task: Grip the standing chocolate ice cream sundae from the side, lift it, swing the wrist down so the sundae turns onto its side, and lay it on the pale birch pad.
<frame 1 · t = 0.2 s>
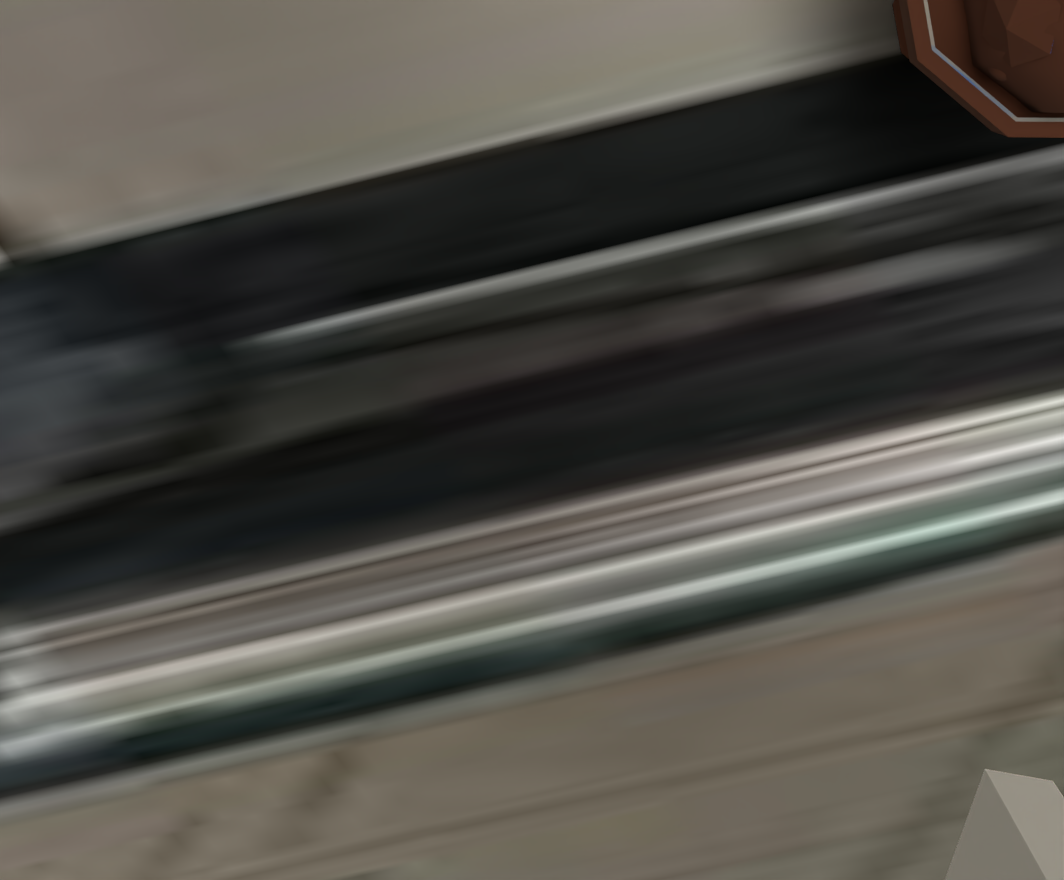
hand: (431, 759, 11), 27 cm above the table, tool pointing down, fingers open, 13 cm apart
chocolate ice cream sundae: (967, 5, 31), on the table
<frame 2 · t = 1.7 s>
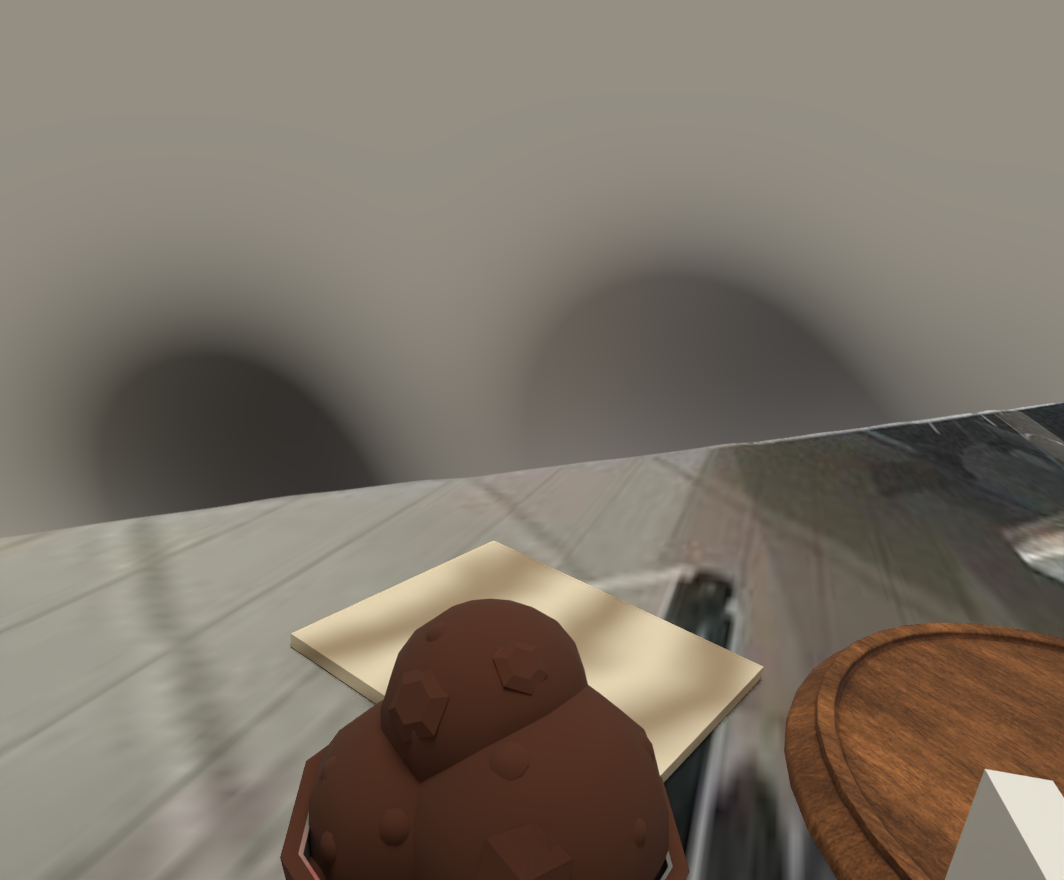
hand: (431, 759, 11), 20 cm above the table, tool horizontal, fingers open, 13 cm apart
birch pad: (531, 662, 46), on the table
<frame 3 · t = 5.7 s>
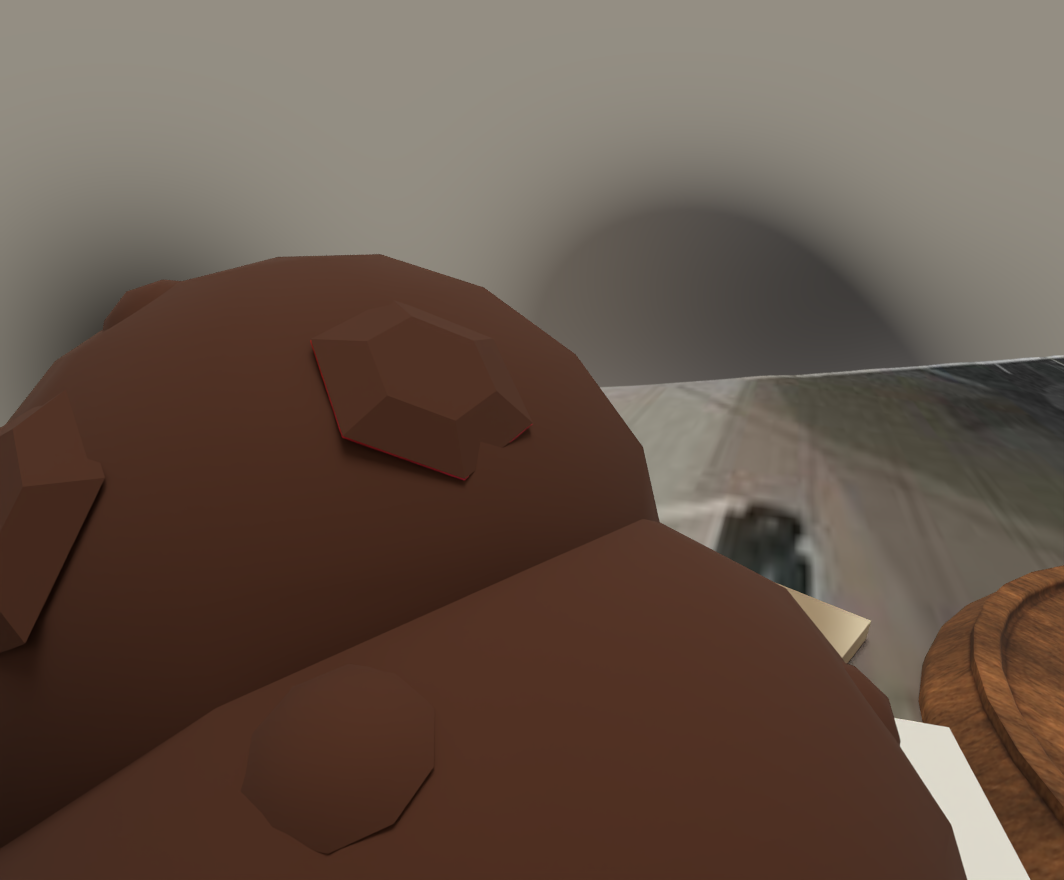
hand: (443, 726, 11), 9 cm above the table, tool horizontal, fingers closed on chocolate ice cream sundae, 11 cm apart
birch pad: (519, 614, 30), on the table
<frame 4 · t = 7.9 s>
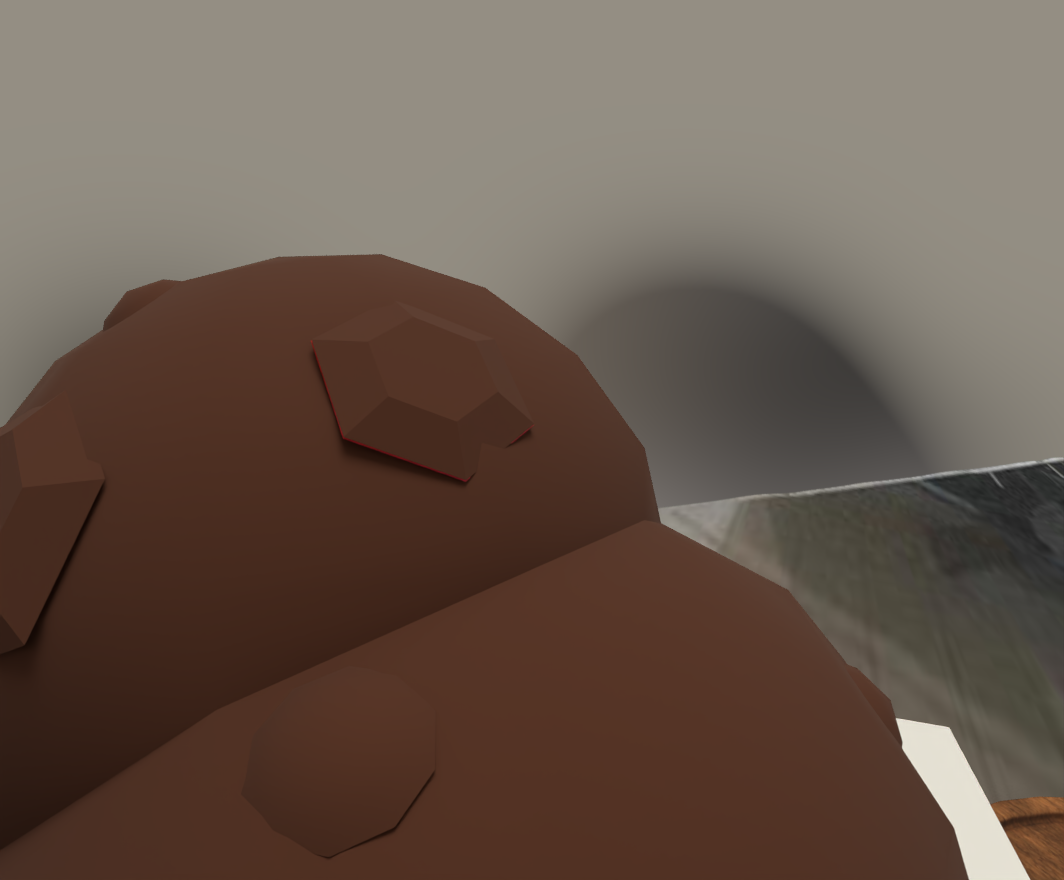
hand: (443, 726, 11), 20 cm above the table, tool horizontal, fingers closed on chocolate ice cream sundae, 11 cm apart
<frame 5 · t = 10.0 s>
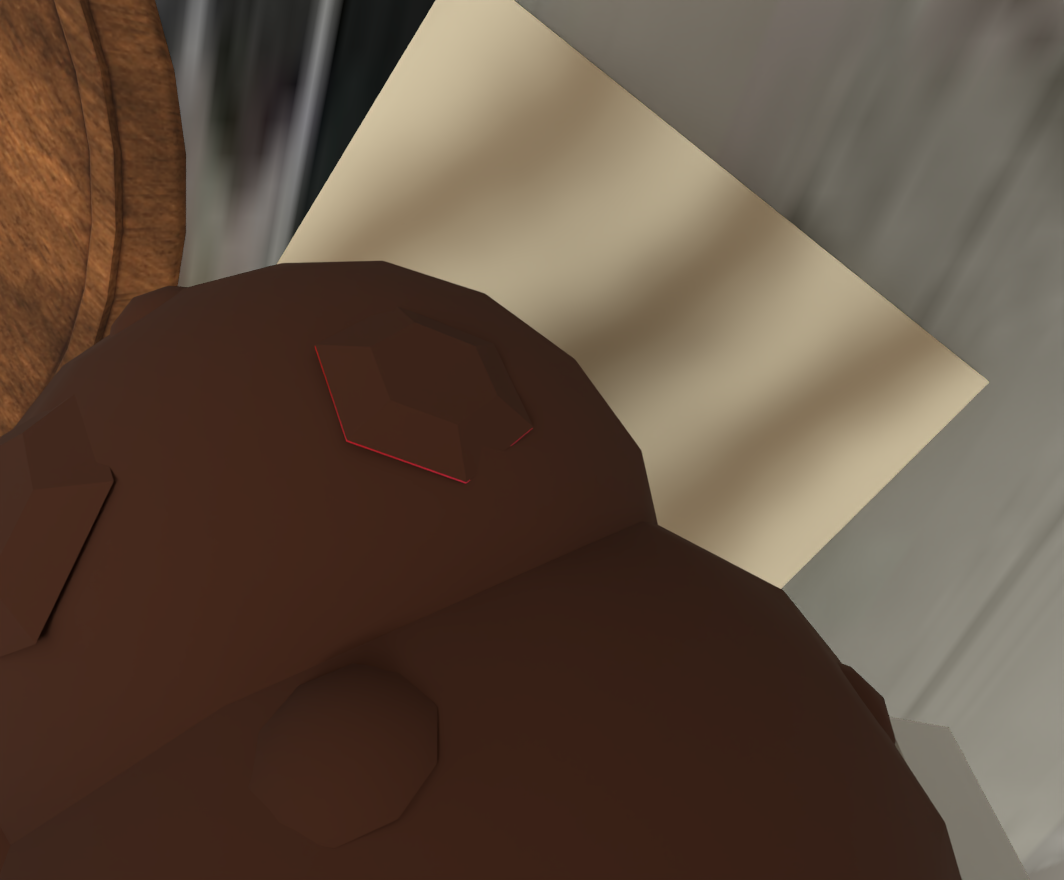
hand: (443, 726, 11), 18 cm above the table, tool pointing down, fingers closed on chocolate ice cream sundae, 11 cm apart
birch pad: (564, 390, 28), on the table
when the fingers open (4 cm above the table, at t = 13.2 s): chocolate ice cream sundae drops 3 cm, resting on birch pad.
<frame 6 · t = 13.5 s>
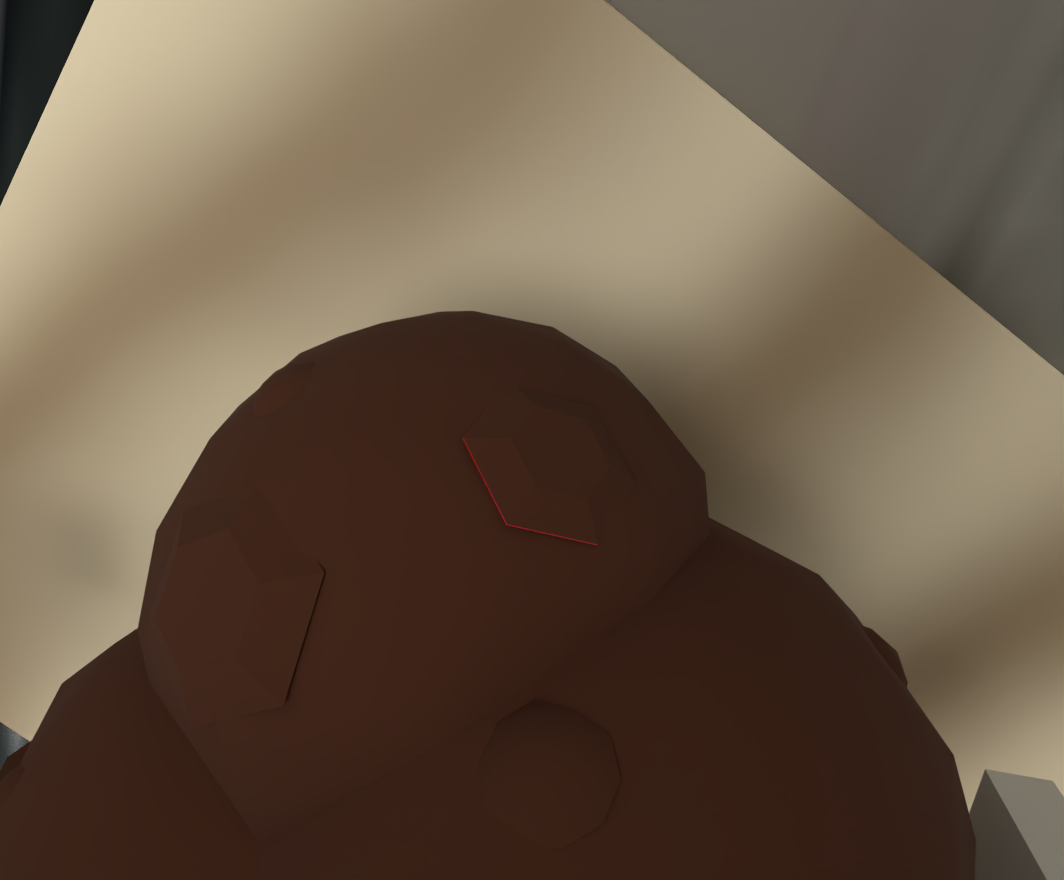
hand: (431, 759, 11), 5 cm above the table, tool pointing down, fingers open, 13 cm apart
birch pad: (492, 583, 15), on the table
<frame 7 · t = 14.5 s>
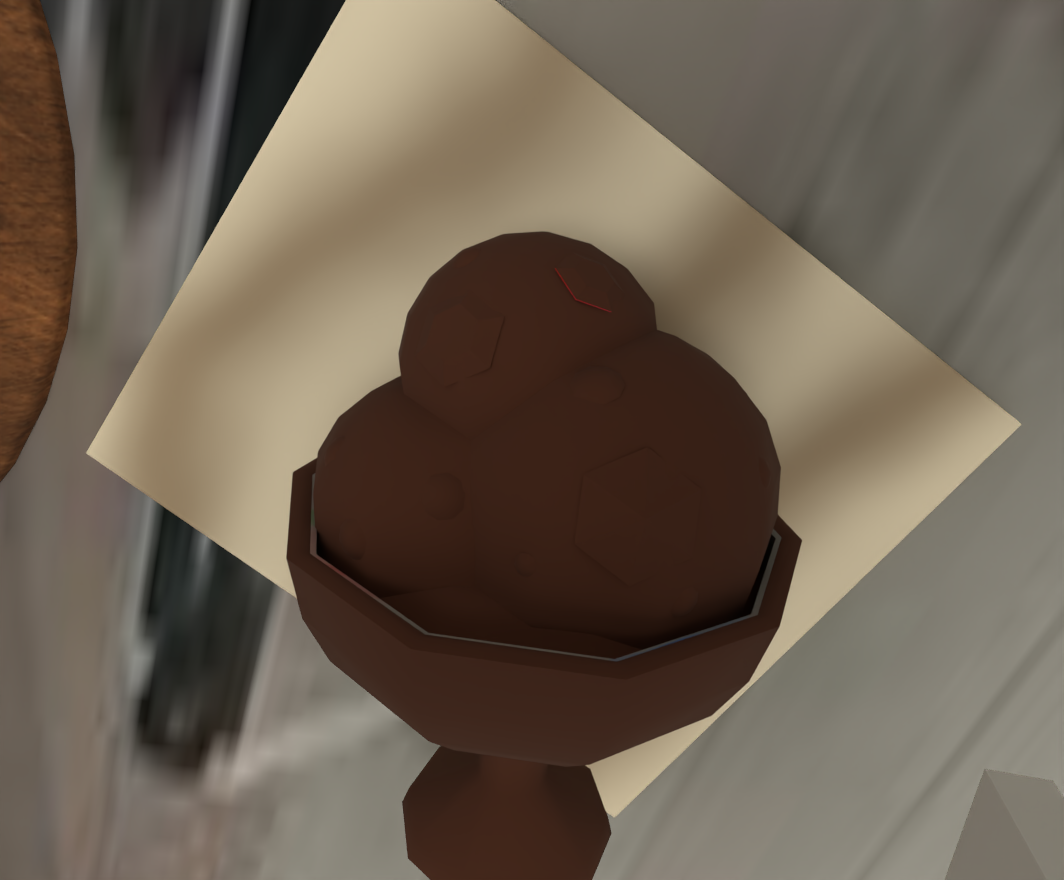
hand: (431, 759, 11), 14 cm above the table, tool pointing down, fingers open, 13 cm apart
chocolate ice cream sundae: (505, 822, 22), point 5 cm above the table, touching birch pad
birch pad: (524, 431, 24), on the table
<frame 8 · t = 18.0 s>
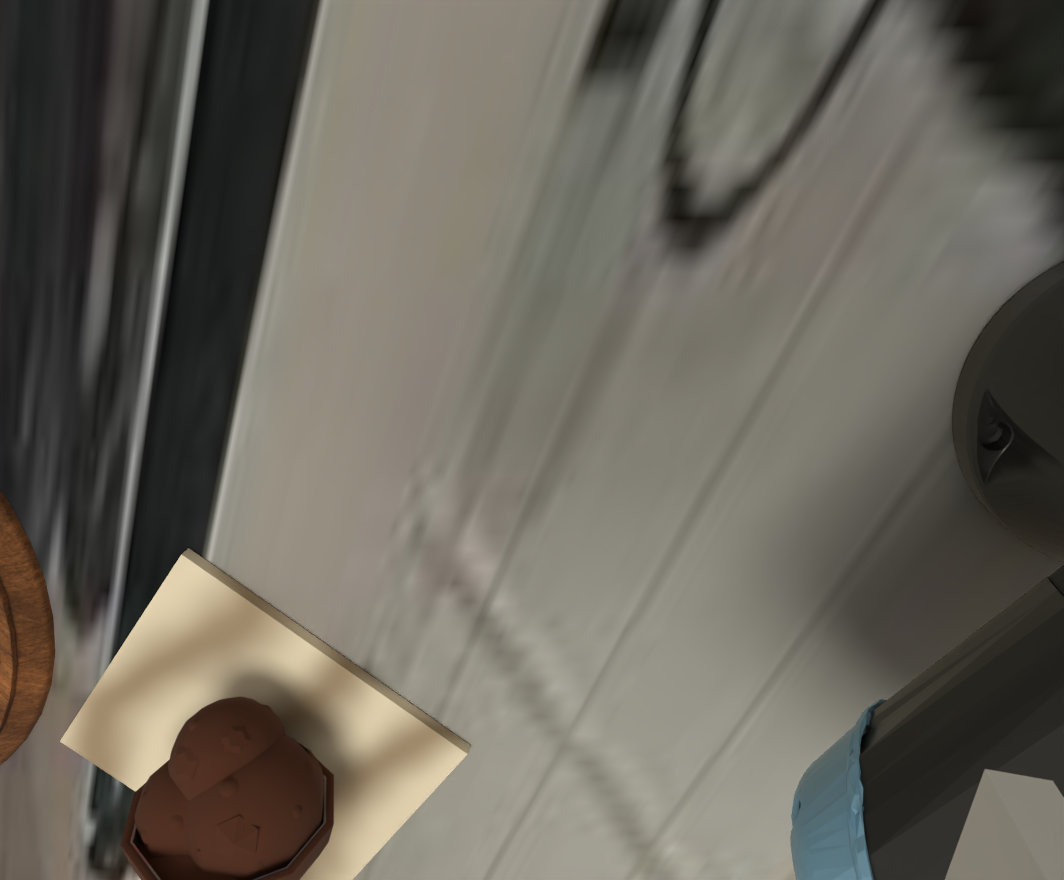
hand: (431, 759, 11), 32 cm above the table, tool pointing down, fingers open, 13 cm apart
birch pad: (261, 738, 51), on the table
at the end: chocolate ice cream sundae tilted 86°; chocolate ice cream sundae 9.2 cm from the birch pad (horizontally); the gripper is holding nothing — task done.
